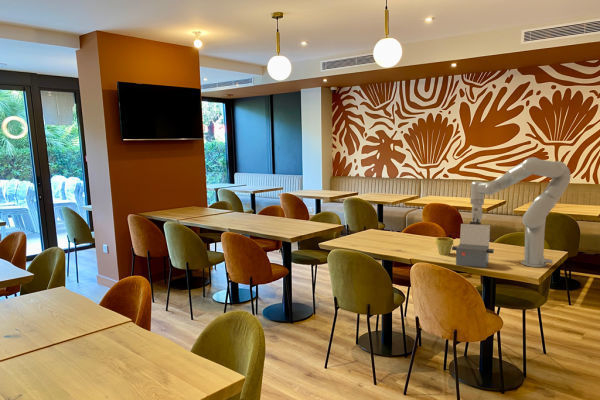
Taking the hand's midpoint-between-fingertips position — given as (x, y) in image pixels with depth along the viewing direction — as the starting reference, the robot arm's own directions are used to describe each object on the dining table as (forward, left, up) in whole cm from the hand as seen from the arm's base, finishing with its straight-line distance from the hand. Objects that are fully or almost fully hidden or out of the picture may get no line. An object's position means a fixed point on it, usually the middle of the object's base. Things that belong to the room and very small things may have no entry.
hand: (476, 231), depth 264 cm
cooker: (0, +17, -16) cm, 23 cm away
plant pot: (+19, -1, -16) cm, 25 cm away
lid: (0, +9, +1) cm, 9 cm away
